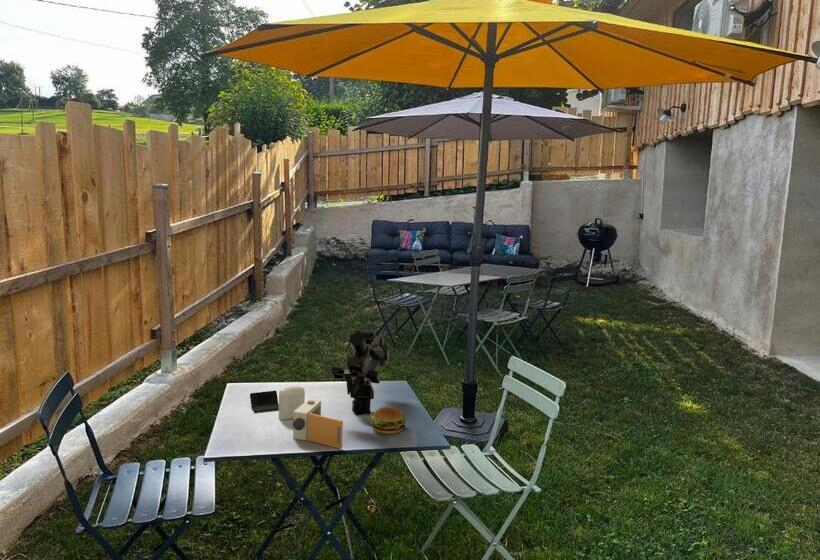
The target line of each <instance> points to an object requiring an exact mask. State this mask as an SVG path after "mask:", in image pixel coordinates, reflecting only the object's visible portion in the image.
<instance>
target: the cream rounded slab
mask: <svg viewBox="0 0 820 560" xmlns="http://www.w3.org/2000/svg"><path fill="white" fill-rule="evenodd" d="M305 393H306V392H305V388H304V387H303V386H299V385H293V386H288V387H283V388H281V389H280V390H279V391H278V404H279V410H278V419H279V420H280V421H282V420H284V421H285V420H289V419H290V420H291V419H293V415H294V411H295V410H296V409H297V408H298V407H300V406H301V405H302V404H303V403H305V402H306V401H305V399H306V397H305V396H306V395H305Z"/></svg>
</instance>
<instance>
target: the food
mask: <svg viewBox="0 0 820 560" xmlns="http://www.w3.org/2000/svg"><path fill="white" fill-rule="evenodd" d="M371 412H372V413H371V414H369V415H368V417H367V419H368V420H369V421H371V422H370V423H371V425H372V429H373V431H375V432H377V433H379V434H384V435H393V434H398V433H400V431H401V432H402V431H403V430H404V428H405V426H406V422H407V418H406V416H405V414H404V413H403V411H401V410H400V409H399V408H396V407H394V406H393V407H392V406H383V407H379V408H377V409H376V410H375V411H371Z"/></svg>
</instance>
